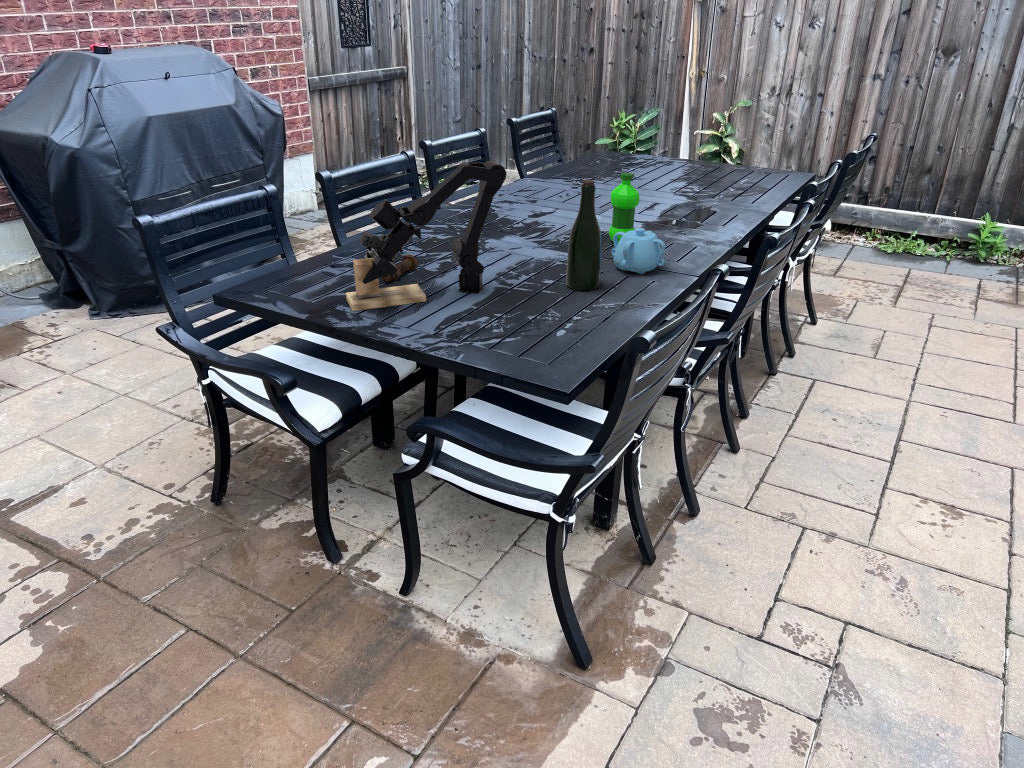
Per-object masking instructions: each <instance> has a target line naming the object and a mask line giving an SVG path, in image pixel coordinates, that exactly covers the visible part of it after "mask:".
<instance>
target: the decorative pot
mask: <svg viewBox="0 0 1024 768" xmlns="http://www.w3.org/2000/svg"><path fill="white" fill-rule="evenodd" d="M634 229H635V230H632V231H628V232H626V233H624V232H618V233H616V234H615V235H614V237H613V241H614V242H613V241H612V242H613V246H614V247H613V248H612V249H611V252H610V253H611V255H612V256H613V262H614V264H615V266H616V268H618V269H619V270H621V271H628V272H633V273H636V274H638V275H644V274H645V273H646V272H647V273H648V272H651V271H653V270H655V269H656V268H657V267H663V266H665V264H666V260H665V259H664V258H663V256H664V254H665V250H666V243H665V241H664V240H661V239H659V238H658V236H657V234H656V233H654V232H653V231H652V230H646V229H645V228H643V227H636V228H634ZM618 235H622V237H621V239H620V241H619V243H618V240H617V237H618Z"/></svg>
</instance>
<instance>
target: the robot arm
mask: <svg viewBox="0 0 1024 768" xmlns="http://www.w3.org/2000/svg"><path fill="white" fill-rule="evenodd" d="M507 174H508V173H507V171H506V168H505V167H504V166H503V165H501V164H499V163H497V162H496V161H495V160H487V161H485V162H466V161H465V162H464V161H463V162H461V163H460V164H458V166H457V167H456V168H455V169H454V170H453V171H452V172H451V173H450V174H448V175H447V177H446V178H444V179H443V180H442V181H441V182H440V183H439V184H438V185H437V186H435V187H434V189H432V190H431V191H430V192H429V193H427V194H426V195H423V196H421V197H419V198H417V199H416V200H414V201H413V202H411V203H409V205H408V206H403V207H399V208H397V207H395V206H394V205H393V204H392V203H391V202H390V201H389V200H388V199H386V198H384V200H383V201H381V202H379V203H378V204H377V205H375V206H374V207H373V209H371V211H370V214H369V218H370V219H372V220H373V221H374V222H376V223H377V225H379V226H380V227H381V228H382V229H384V230H387V231H388V230H390V231H389V232H388V233H387V234H386V233H384V234H383V233H382V235H381V236H378V235H377V234H374V233H370V232H368V231H366V230H362V233H361V236H360V239H359V243H360V244H361V246H363V247H364V248H365V249H366V250H364V252H365V256H366V257H365V259H366V258H374V259H375V261H373V260H372V267H371V269H370V270H369V272H368V273H367V275H366V276H365V278H364V280H363V281H362V282H363V283H364V284H367V283H369V282H371V281H373V280H376V279H378V280H379V279H380V278H381V279H382V277H383V276H386V275H390V276H392V277H394V275H395V274H396V273H397V268H396V265H395V263H394V262H395V260H394V259H395V257H396V256H397V255H398V254H399V253H400V254H401V253H403V252H404V247H405V246H406V245H407V244H408V243H409V241H410V240H411V239H412V238H413V236H416V237H417V238H418V239H421V238H422V233H421V232H422V229H421V227H425V226H427V225H428V224H429V223H430V221H431V220H432V219H433V218H434V217H435V215H436V212H437V211H438V209H439V208H440V206H441V205H442V204H443V203H444V202H446V200H448V199H449V198H450V197H451V196H452V195H453V194H454V193H455V192H457V191H458V190H459V189H460V188H461V187H462V186H464V184H465V183H466V182H468V181H469V180H476V181H478V182H479V183H478V184H479V186H478V187H479V188H478V193H477V197H476V198H475V199H476V200H475V202H474V205H473V208H472V211H471V214H470V217H469V220H468V223H467V225H466V228H465V232H464V233H463V236H462V237H461V238H460V239H459V238H457V237H456V238H455V240H454V245H453V248H452V249H451V251H452V258H453V260H454V261H455V263H457V265H459V267H460V268H461V269H460V271H459V274H458V287H459V288H458V291H459V292H465V293H473V294H474V293H475V294H479V293H480V292H481V291H482V290H483V288H484V287H485V284H483V273H484V270H485V266H484V265H483V264H482V263H481V262H480V261H479V260H478V256H479V253H480V251H479V240H480V238H481V234H482V231H483V228H484V225H485V223H486V220H487V218H488V215H489V211H490V208H491V206H492V202H493V200H494V197H495V195H496V194H497V193H498V192H499V190H500V189H501V188H502V186H503V184H504V183H505V181H506V179H507ZM401 218H402V219H401ZM403 220H404V221H403ZM376 223H375V224H376ZM413 224H414V225H415V226H414V225H413ZM416 226H417V227H416Z"/></svg>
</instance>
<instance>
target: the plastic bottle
mask: <svg viewBox="0 0 1024 768" xmlns="http://www.w3.org/2000/svg"><path fill="white" fill-rule="evenodd" d="M633 177H634V174H633V173H631V172H630V173H629V172H622V173H620V180H621V184H619V185H617V186H616V187H615V188H614V189H613V190H611V193H610V196H609V197H610V203H611V205H612V206H613V207H612V218H611V219H612V220H611V225H610V226H609V228H608V236H609V238H610V240H611V242H613V243H614V241H613V237H614V235H615V234H616V233H618V232H624V233H626V232H628V231H632V230H635V229H636V228H635V227H634V225H635V224H634V223H635V213H636V207H638V205H639V203H640V200H641V199H640V198H641V196H640V193H639V191H638V190H637V189H636V188H635V186H633V185H632V183H631V182H632V181H633ZM621 237H622V235H618V237H617V240H618V243H619V241H620V239H621Z"/></svg>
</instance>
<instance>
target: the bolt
mask: <svg viewBox="0 0 1024 768" xmlns="http://www.w3.org/2000/svg"><path fill="white" fill-rule="evenodd" d="M395 266H396V268H397V273H396V274H395V275H394V277H392V276H390V275H386V276H383V277H381V279H382V280H383V281H384V282H386V283H389V282H391V281H397V280H399V279H400V277H401V275H402V274H403V273H405V272H407V271H412V272H414V271H416V270H417V268H418V266H419V262H418V259H417V258H416V257H415V255H413V254H407V253H406V254H405V255H403V258H402V260H401V262H399V263H397V264H396V265H395Z"/></svg>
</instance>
